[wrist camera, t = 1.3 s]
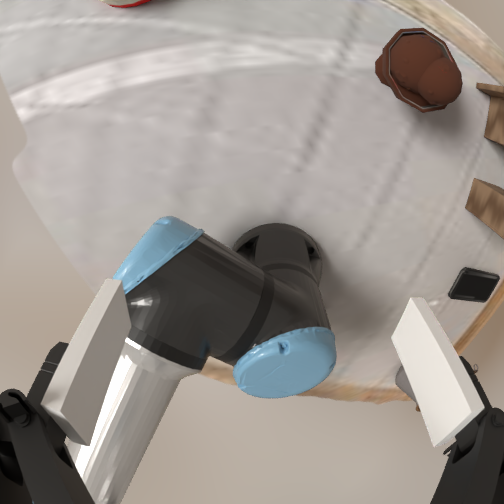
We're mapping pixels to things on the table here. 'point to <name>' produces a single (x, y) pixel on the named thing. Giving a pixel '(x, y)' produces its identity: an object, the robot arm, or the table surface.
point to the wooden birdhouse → (494, 112)
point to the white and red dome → (124, 3)
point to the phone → (473, 285)
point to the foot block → (487, 204)
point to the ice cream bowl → (419, 70)
